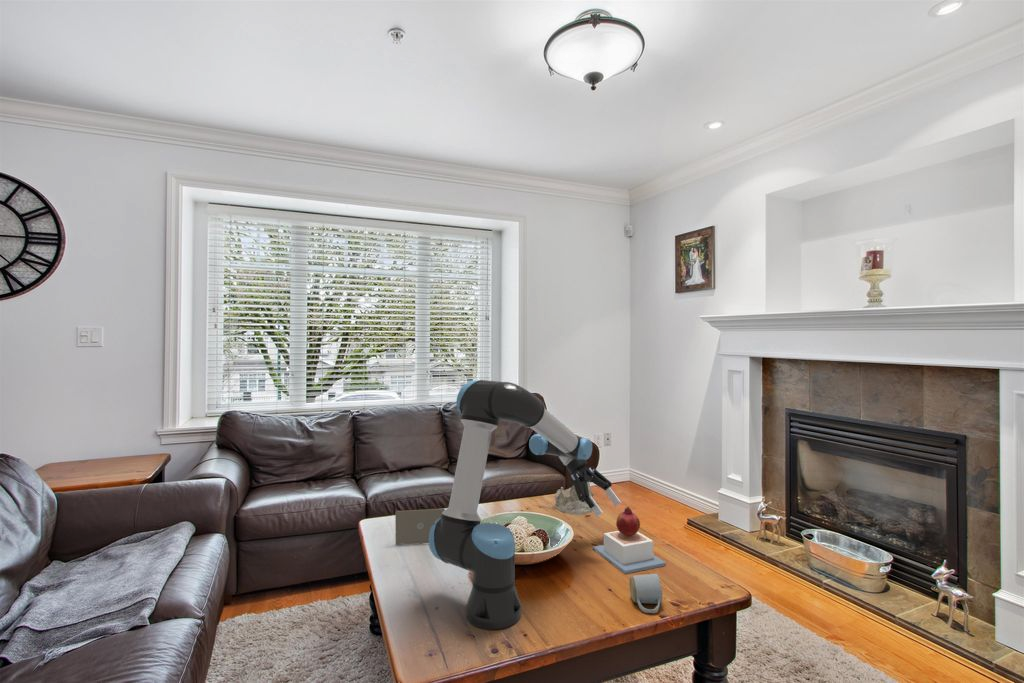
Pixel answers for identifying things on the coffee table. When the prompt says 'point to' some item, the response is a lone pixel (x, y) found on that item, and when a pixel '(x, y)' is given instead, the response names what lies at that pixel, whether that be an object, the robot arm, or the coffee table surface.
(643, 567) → the pedestal board
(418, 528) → the laptop
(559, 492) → the miniature stone castle
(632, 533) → the fruit
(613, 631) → the coffee table surface
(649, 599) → the ceramic mug
